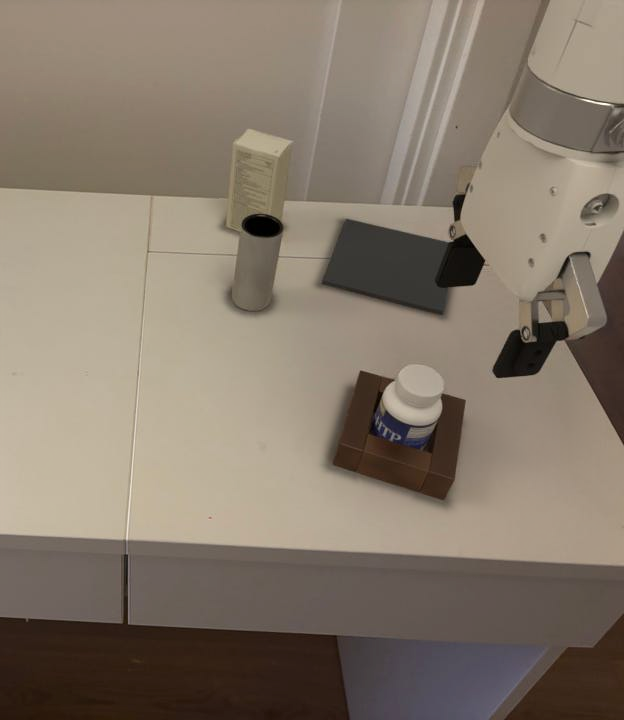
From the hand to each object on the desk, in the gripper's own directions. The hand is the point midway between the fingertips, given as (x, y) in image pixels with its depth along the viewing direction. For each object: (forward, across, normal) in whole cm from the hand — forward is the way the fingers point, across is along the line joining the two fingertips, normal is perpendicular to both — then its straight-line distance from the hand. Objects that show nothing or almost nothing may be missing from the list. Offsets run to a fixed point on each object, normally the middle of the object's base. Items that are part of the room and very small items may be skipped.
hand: (482, 326), depth 55 cm
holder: (+20, +5, 0) cm, 20 cm away
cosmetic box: (+20, +41, +5) cm, 46 cm away
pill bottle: (+20, +5, 0) cm, 20 cm away
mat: (+20, +32, -10) cm, 38 cm away
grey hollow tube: (+20, +27, +8) cm, 35 cm away
